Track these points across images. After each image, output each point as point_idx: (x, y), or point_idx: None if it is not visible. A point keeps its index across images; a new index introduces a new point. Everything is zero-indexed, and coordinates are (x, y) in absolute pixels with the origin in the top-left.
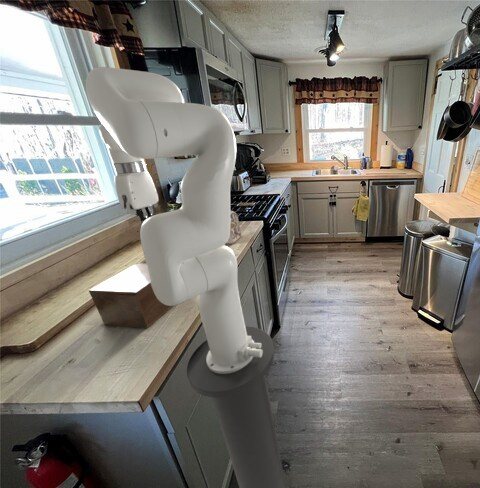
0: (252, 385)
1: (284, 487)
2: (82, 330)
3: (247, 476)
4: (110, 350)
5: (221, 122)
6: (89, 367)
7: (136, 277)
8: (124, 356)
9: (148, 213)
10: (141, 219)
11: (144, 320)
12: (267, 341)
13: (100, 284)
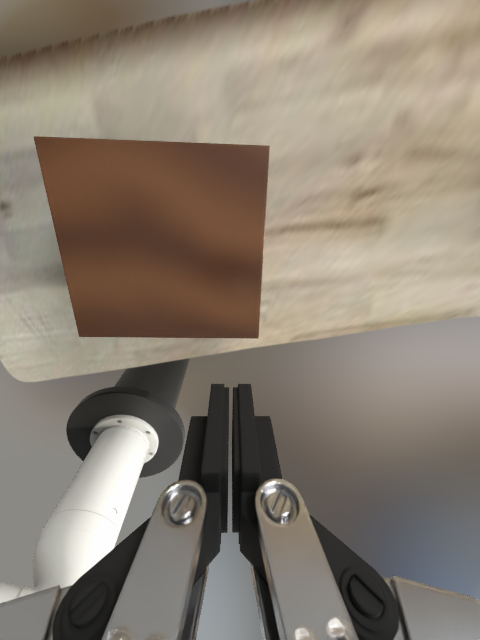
0: None
1: None
2: (74, 120)
3: None
4: (56, 266)
5: None
6: (12, 264)
7: (154, 261)
8: (56, 306)
9: (249, 555)
10: (180, 478)
11: None
12: (159, 467)
13: (80, 146)
